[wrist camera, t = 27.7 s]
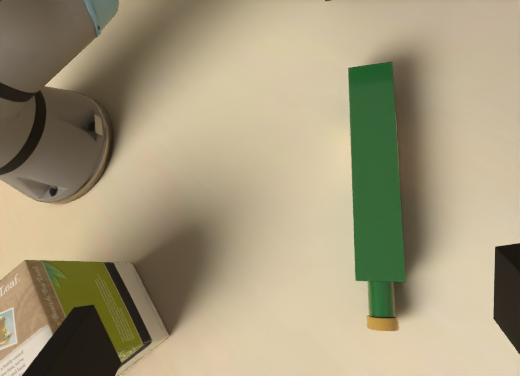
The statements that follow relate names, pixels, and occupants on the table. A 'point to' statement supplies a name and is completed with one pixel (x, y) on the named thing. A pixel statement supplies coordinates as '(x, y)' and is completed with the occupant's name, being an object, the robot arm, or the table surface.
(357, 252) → the bottle
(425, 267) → the table surface
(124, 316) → the tea box
